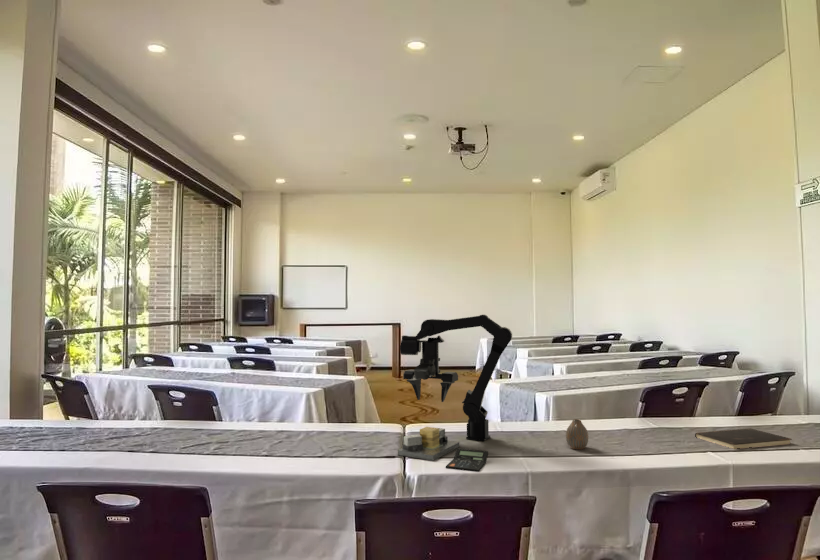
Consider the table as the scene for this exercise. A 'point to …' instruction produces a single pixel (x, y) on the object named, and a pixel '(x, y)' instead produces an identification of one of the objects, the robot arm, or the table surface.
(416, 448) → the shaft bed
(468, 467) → the calculator
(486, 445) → the table surface
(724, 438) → the hardcover book
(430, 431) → the tan cube
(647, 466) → the table surface
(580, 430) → the vase
